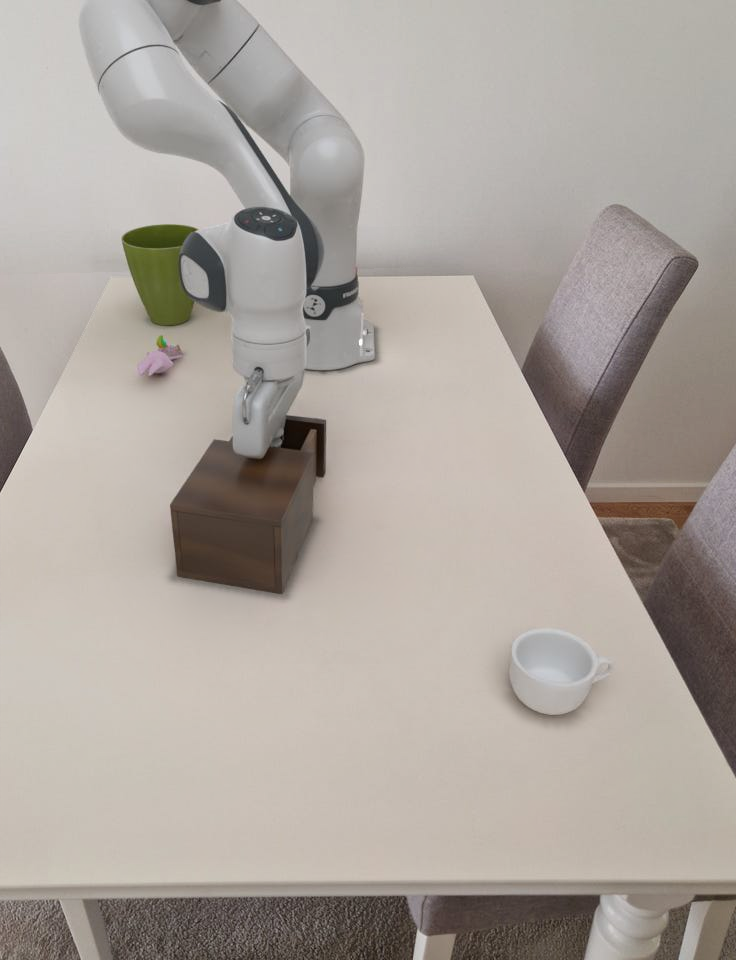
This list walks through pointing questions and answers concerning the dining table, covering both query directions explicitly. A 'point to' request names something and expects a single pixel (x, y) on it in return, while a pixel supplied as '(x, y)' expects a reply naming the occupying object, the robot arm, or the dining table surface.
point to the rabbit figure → (159, 358)
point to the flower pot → (159, 270)
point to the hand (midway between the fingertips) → (271, 451)
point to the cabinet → (243, 517)
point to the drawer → (307, 440)
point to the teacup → (554, 670)
